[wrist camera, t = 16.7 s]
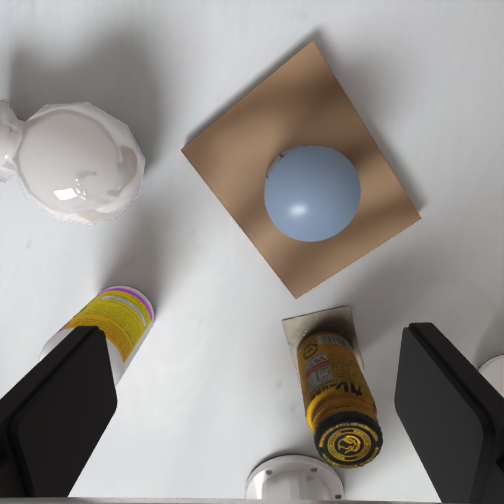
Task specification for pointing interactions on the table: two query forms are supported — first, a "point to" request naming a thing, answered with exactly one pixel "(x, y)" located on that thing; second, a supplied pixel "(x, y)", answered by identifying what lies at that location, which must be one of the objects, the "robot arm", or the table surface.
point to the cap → (311, 192)
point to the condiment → (334, 387)
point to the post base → (283, 138)
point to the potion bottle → (72, 161)
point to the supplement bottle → (113, 325)
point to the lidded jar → (494, 372)
